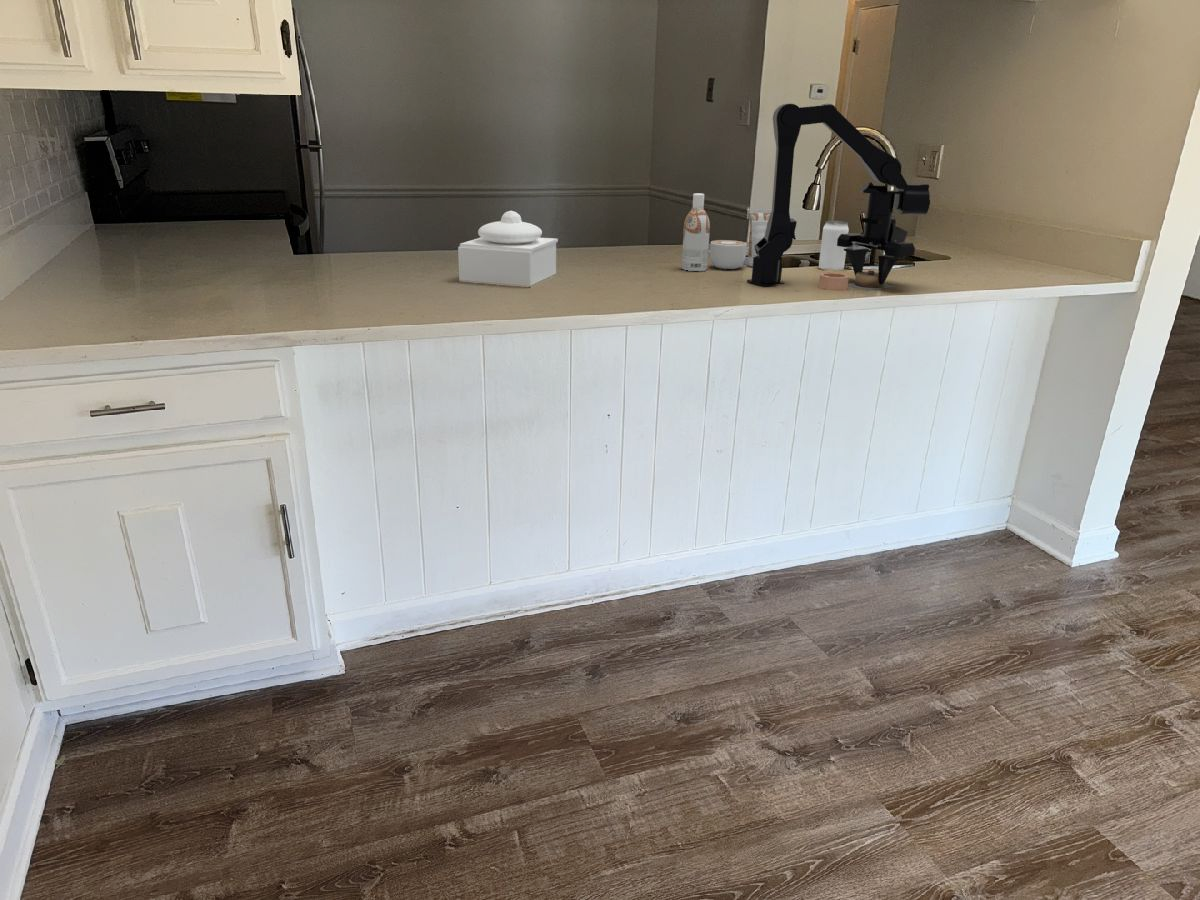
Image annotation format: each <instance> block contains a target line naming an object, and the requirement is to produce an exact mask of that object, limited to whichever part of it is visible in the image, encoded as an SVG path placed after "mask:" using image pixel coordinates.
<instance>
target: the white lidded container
mask: <svg viewBox="0 0 1200 900" xmlns="http://www.w3.org/2000/svg"><path fill="white" fill-rule="evenodd" d="M542 230H543V229H541V228H540V227H539V226H537V225H535V224H533V223H530V222H525V221H523V220H522V217H521V215H520V214H519V213H518V212H516V211H513V210H508V211H505V212H504V213H503V214H502V216H501V218H500V220H499V221H498V220H497V221H492V222H489V223H486V224H483V225H482V226H480V228H479V229H478V231H477V234H478V236H479V237H478V238H475V239H471V240H468V241H464V242H461V243H459V246H458V247H457V251H458V252H457V253H458V277H459V281H460V280H467V281H476V282H486V283H499V284H513V285H525V286H531V285H533V284H535V283H537V282H539V281H541V280H543V279H546V278H548V277H550V276H552V275H554V274H556V275H557V243H558V241H559V238H554V237H553V238H552V237H551V238H550V237H542V234H543V231H542Z"/></svg>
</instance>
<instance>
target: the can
mask: <svg viewBox="0 0 1200 900" xmlns="http://www.w3.org/2000/svg"><path fill="white" fill-rule="evenodd" d="M848 224H849V223H848V222H846V221H841V220H827V221H825V224H824V226H823V227H822V228H823V229H822V234H821V241H820V242H821V243H820V253H819V262H818V268H819V269H820V270H823V271H829V270H831V271H834V270H835V271H836V270H837V271H839V270H845V261H846V255H847V253H846V251H844V248H846V247H840V246H837V240H838V237H839V236H840V235H841V234H848V233H849V231H850V229H849V225H848Z"/></svg>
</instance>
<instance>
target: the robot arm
mask: <svg viewBox="0 0 1200 900" xmlns="http://www.w3.org/2000/svg"><path fill="white" fill-rule="evenodd" d="M815 124H823V125H824V126H825V127H826V128H827V129H828V130H829V131H830V132H832V134H833V135H835V137H837V138H838V139H839V140H840V141H841V142H842V143H843V144H844V145H845V146H846V147H847V148H848V149H850V151H852V152H853V154H855V155H856V157H857V158H858V159H859V160H860V162H861V163H862V165H863V167H864V168H865V170H866V171H867V173H868V174H869V175H870V177H871V178H872V179H873V180H874V181H876V182H878V183H882V184H887V185H888V186H889V187H892V188H894V189H898V190H890V189H888V187H887V185H874V184H873V182H871V181H867V183H866V185H864V186H863V187H861V188H859V189H860V190H859V191H860V192H861V193H863V194H868V199H867V206H866V212H865V213H866V215H865V217H861V223H864V228H863V234H861V233H856V232H850V233H849V232H848V234H841V235H840V236H839V237H838V240H837V246H840V247H846V248H844V251H846V255H847V257H848V259H849V262H850V264H851V267H852V270H853V272H854V273H853V274H854V276H855V277H856V273H857V272H864V271H863V270H864V264H865V258H866V256H867V254H868V252H869V251H870V249H873V250H880V251H883V252H884V254H879V255H878V259H877V261H878V268H877V269H878V272H877V273H878V278H879V284H880V285H882V284H885V281H886V280H887V278H888V276H889V274H890V272H891V271H892V269H893V267H894V265H895V264H896V263H897V262H898V261H899V260H900V259H904V258H905V257H913V256H915V251H916V246H915V244H914V243H913V242H910V241H909V242H908V241H906V239H907V236H908V233H909V232H908V231H906V230H905V229H903V228H901V227H899V226H896V221H897V220H896V218H892V217H893V213H894V212H893V211H894V210H897V212H898V214H899V215H909V216H911V215H912V216H917V215H918V216H926V215H927V214H928V212H929V209H930V205H931V199H930V198H931V197H930V195H931V194H930V191H929V190H930V184H928V183H919V184H916V183H915V184H910V183H909V184H908V183H907V181H906V179H905V178H904V176H903V174H902V163H901V162H900V160H899V159H898V158H896V157H895V156H893V155H891V154H890V153H888V152H887V151H885V150H884V149H881V148H880V147H879V146H876V145H875V144H873V143H872V142H871V141H870V140H869V139H868V138H867V137H866V136H865V135H864V134H862V133H861V131H860V130H859V129H858V128H856V127H855V126H854V125H853V124H852V122H850V121H849V120H848V119H847V118H846V117H845V116H844V115H843V114H842V113H841V112H840V111H839V110H838V109H837V107H836V105H834V104H832V103H823V104H821V105H813V106H812V105H811V106H810V105H809V106H803V107H799V105H797V104H795V103H784V104H780V105H779V106H778V107H777V108H775V110H774V112H773V116H772V125H773V134H774V142H775V149H776V150H775V163H774V176H773V188H772V189H773V190H772V201H771V202H772V203H771V210H772V211H771V214H770V217H769V220H768V223H767V227H766V231H765V236H764V238H762V239H761V240H760V241H759V242H758V243H757V244H756V245H755V246H754V247H755V251H756V254H757V255H758V256H756V257H753V267H752V270H751V279H746V282H747V283H750V284H754V285H757V286H762V287H770V286H771V287H772V286H776V285H782V284H783V285H784V284H785V282H784V281H782V272H783V255H784V252H787V251H788V250H789V249H790V248H791V247H792V245H793V240H794V241H795V240H796V236H795V234H796V233H795V232H796V228H797V223H798V221H796V220H795V219H794V218H791V215H790V205H791V193H792V182H793V181H792V179H793V166H794V155H795V147H796V145H797V141H798V138H799V135H800V132H801V127H802V126H806V125H815Z"/></svg>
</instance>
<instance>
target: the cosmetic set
mask: <svg viewBox="0 0 1200 900" xmlns="http://www.w3.org/2000/svg"><path fill="white" fill-rule="evenodd" d="M692 197H693V198H692V207H691V210H690V211H689V212H688V214H687V215H686V216H685V219H684V223H683V233H682V235H683V236H682V237H683V238H682V251H681V252H682V253H681V254H682V255H681V269H682V270H683V269H684V270H683V271H686V270H688V271H687V272H692V271H700V272H704V271H707V270H708V261H710V262H711V264H712V266H714V267H715V268H717V269H720V270H726V269H731V270H735V269H739V268H740V267H742V266H743V264H744V262H745V260H746V257H747V261H746V264H747V266H749V267H751V268H753V257H756V256H758V255H757V254H756V251H755V247H754V246H755V245H756V244H757V243H758V242H759V241H760V240H761V239H762V238H764V236H765V231H766V227H767V223H768V220H769V217H770V214H771V211H772V209H749V210H748V215H749V241H748V245H747V242H745V241H739V240H731V239H730V240H729V239H728V240H727V239H717V240H712V241H710V232H711V231H710V230H711V229H710V228H711V223H710V218H709V215H708V213H707V212H706V210H705V208H704V205H705V193H700V192H699V193H698V192H697V193H693V195H692ZM709 245H710V246H709ZM747 246H748V250H747ZM709 247H710V248H709ZM747 251H748V253H747ZM746 255H747V256H746ZM708 257H709V260H708Z"/></svg>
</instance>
